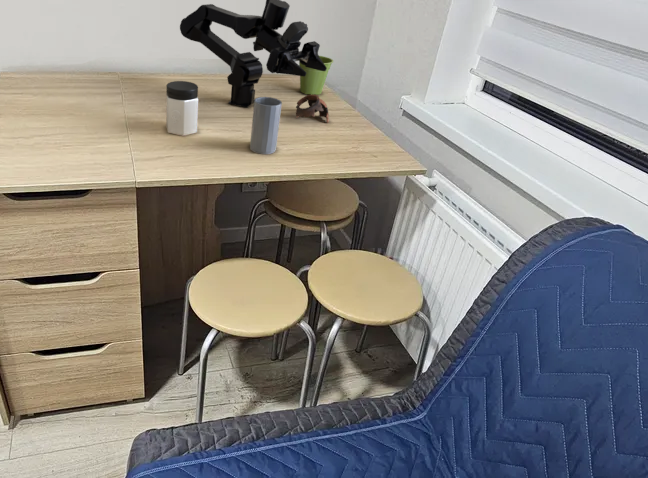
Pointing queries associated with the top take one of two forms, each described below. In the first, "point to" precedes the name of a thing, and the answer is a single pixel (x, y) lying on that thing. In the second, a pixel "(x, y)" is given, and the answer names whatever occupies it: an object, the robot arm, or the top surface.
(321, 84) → the plant pot
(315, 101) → the brown looped piece
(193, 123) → the jar
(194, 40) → the robot arm
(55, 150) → the top surface
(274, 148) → the tumbler
